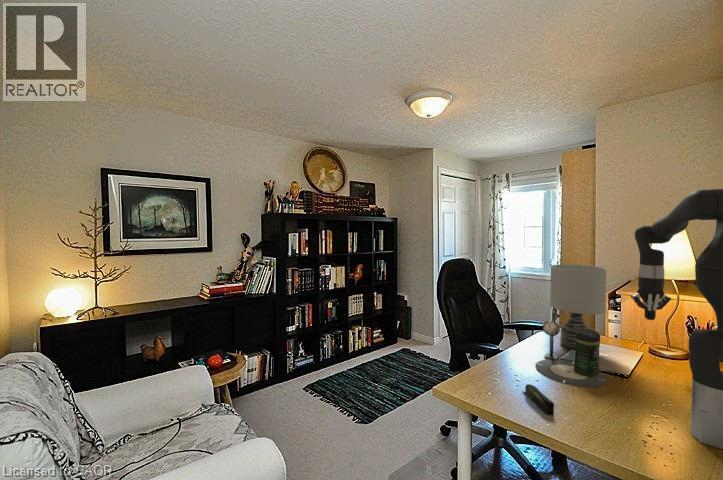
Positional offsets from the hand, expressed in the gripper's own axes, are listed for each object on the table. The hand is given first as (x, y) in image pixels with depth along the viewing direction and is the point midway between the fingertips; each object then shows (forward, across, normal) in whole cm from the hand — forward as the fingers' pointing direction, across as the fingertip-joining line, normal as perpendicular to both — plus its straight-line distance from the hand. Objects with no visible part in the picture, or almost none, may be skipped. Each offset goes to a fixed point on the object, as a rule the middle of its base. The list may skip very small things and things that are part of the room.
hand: (649, 319), depth 126 cm
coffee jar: (+27, +18, -8) cm, 34 cm away
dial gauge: (+27, +27, -22) cm, 45 cm away
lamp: (+27, +9, -40) cm, 49 cm away
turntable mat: (+27, +25, -8) cm, 38 cm away
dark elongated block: (+28, +47, +22) cm, 59 cm away
